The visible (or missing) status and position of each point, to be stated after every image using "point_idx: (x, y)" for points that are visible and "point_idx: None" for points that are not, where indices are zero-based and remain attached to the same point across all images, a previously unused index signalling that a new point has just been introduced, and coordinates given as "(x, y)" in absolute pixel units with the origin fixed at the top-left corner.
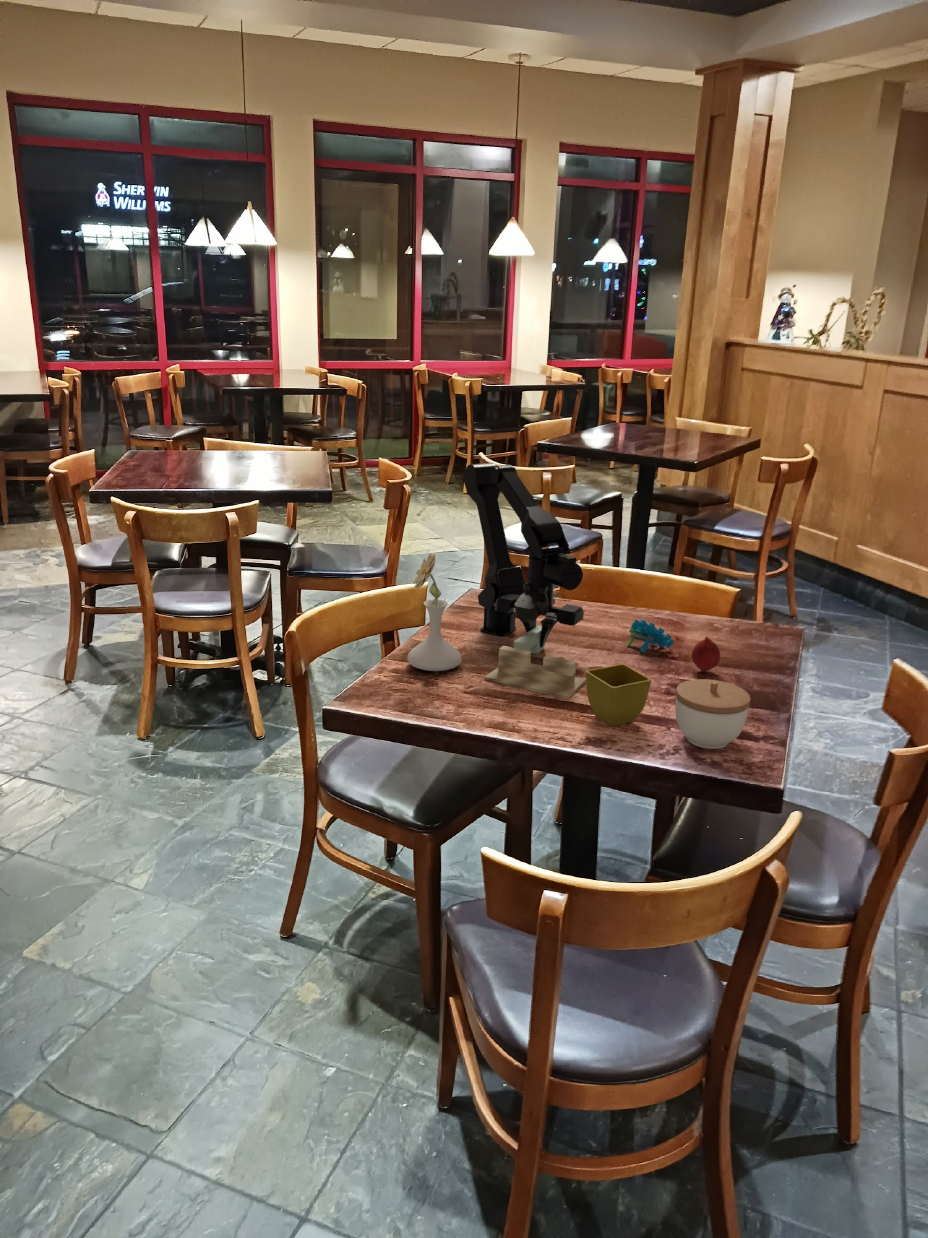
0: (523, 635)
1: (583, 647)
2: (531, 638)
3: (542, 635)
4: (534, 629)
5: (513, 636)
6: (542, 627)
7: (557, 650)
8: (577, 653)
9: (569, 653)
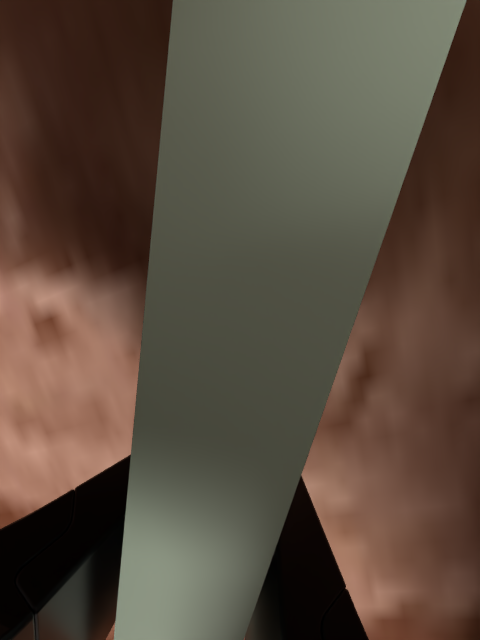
0: (343, 295)
1: (17, 511)
2: (163, 255)
3: (116, 495)
4: (214, 607)
5: (461, 634)
6: (17, 608)
7: (117, 449)
8: (4, 427)
9: (39, 417)
